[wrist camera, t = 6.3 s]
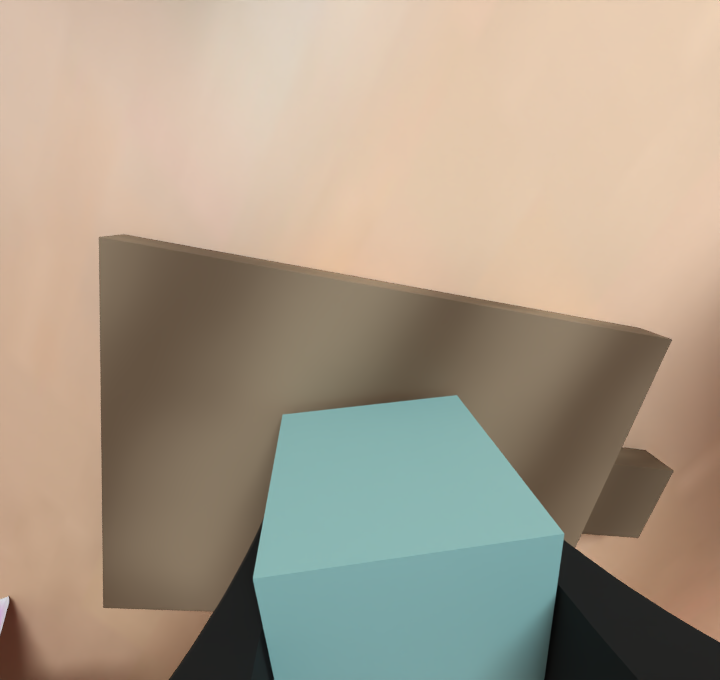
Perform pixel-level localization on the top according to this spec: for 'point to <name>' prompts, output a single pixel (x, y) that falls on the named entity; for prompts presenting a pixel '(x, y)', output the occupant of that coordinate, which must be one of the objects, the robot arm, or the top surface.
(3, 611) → the lily
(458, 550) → the teal cube
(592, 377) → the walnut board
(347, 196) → the top surface
